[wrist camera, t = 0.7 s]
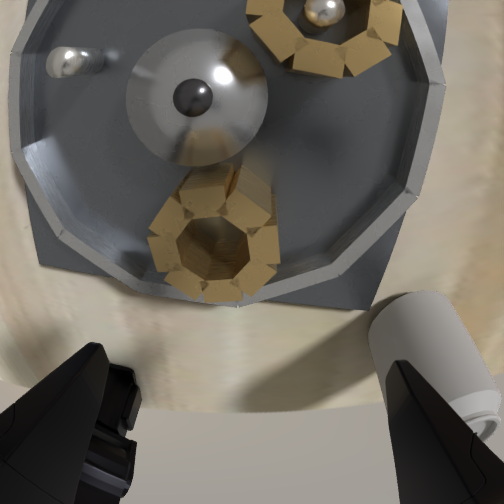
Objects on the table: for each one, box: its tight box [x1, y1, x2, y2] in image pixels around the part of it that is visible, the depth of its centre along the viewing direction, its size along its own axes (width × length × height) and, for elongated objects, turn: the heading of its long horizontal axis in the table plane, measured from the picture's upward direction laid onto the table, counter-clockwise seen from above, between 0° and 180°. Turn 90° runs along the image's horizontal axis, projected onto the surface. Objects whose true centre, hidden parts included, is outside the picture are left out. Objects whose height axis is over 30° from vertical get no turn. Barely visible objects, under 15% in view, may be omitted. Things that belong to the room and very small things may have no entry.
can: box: [368, 290, 502, 442], centre depth 19 cm, size 8×8×12 cm
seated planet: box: [245, 0, 403, 79], centre depth 11 cm, size 6×6×4 cm
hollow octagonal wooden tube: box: [147, 162, 280, 303], centre depth 17 cm, size 6×6×4 cm
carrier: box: [9, 0, 449, 311], centre depth 14 cm, size 25×25×4 cm
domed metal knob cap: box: [126, 29, 268, 166], centre depth 14 cm, size 7×7×3 cm
